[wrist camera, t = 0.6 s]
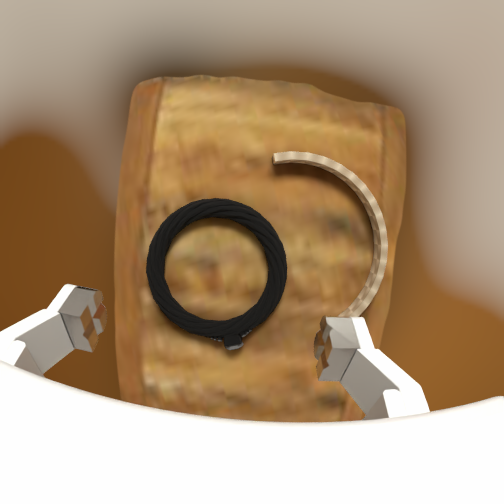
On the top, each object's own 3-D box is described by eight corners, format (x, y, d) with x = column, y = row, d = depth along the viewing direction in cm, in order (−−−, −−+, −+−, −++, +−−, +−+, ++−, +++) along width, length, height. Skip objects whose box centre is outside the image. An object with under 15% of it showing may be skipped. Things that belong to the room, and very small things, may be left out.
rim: (396, 301, 62) (403, 305, 58) (326, 330, 62) (330, 336, 58) (348, 135, 58) (354, 131, 54) (271, 157, 58) (272, 154, 54)
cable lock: (271, 182, 55) (303, 335, 58) (269, 185, 59) (299, 329, 62) (129, 217, 55) (169, 362, 58) (136, 217, 59) (173, 354, 62)
